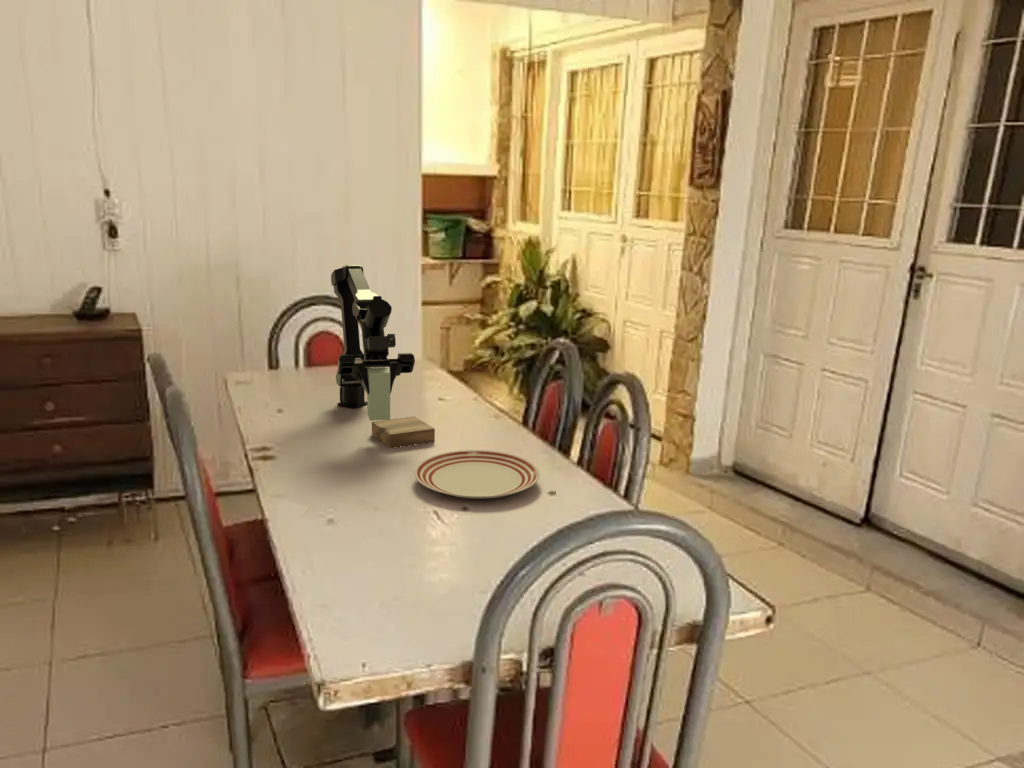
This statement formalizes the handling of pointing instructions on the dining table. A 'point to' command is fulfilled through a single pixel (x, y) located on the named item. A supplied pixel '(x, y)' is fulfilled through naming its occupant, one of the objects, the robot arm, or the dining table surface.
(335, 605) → the dining table surface
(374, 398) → the sage block
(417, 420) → the walnut block
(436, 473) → the dinner plate
